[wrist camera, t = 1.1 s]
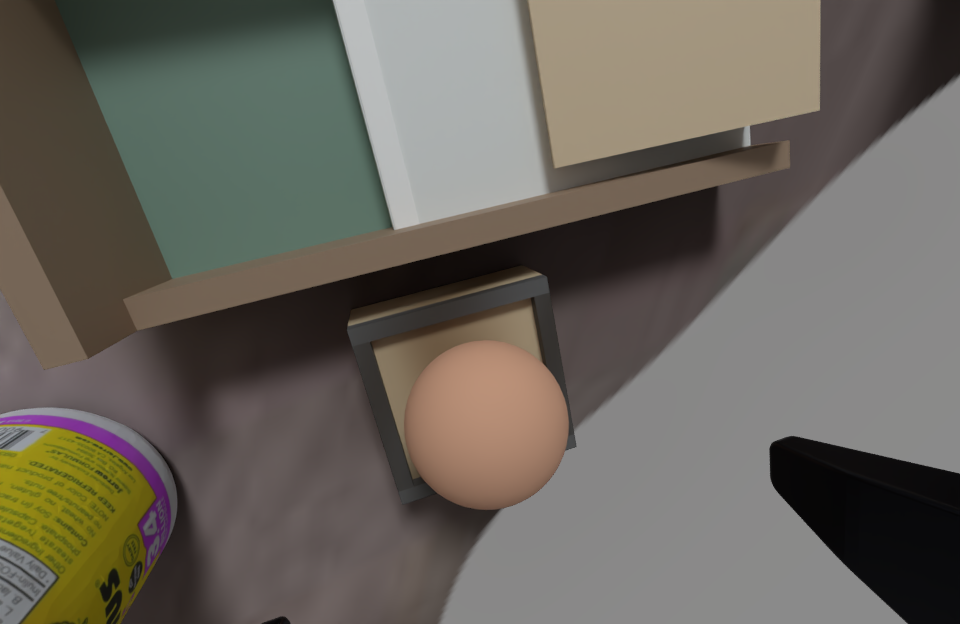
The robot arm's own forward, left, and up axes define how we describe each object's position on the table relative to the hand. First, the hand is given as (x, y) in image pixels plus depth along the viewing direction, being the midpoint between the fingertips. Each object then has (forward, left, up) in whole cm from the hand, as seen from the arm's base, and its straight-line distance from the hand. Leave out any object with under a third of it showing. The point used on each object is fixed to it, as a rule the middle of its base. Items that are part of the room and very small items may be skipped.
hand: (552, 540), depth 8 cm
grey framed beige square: (0, 0, -9) cm, 9 cm away
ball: (0, 0, -5) cm, 5 cm away
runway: (-2, -9, -9) cm, 13 cm away
